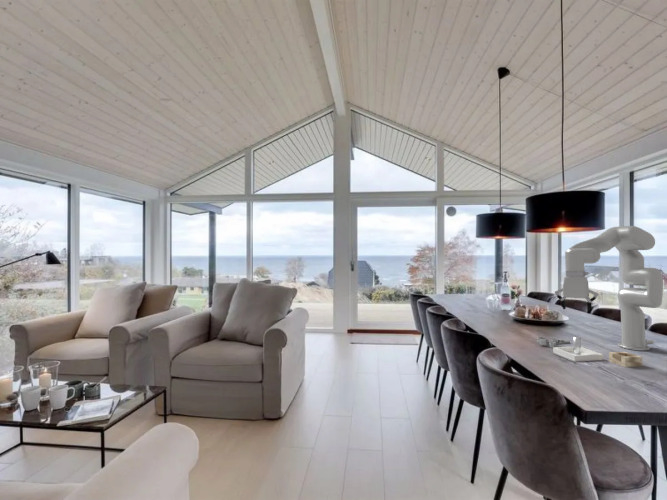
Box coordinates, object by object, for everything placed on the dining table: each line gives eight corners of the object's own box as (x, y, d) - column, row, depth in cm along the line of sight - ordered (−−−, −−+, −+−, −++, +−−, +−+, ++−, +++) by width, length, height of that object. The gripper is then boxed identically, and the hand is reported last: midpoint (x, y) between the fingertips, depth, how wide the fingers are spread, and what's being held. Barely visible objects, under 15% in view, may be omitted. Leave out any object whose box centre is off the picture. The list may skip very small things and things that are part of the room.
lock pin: (578, 355, 166) (577, 336, 167) (582, 356, 163) (582, 338, 164) (572, 355, 166) (571, 336, 166) (576, 357, 163) (576, 338, 163)
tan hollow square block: (625, 362, 157) (625, 351, 157) (642, 368, 149) (642, 356, 149) (609, 363, 156) (608, 352, 156) (625, 369, 148) (624, 357, 149)
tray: (579, 353, 172) (579, 346, 172) (603, 362, 158) (603, 354, 158) (553, 354, 171) (553, 347, 171) (574, 363, 157) (574, 355, 157)
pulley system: (533, 350, 182) (567, 353, 173) (532, 341, 183) (566, 344, 173) (540, 341, 204) (570, 343, 195) (539, 333, 204) (569, 335, 195)
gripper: (598, 274, 163) (599, 310, 162) (555, 273, 174) (556, 307, 174) (597, 275, 157) (598, 312, 157) (552, 274, 168) (553, 309, 168)
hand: (576, 309), depth 165 cm, fingers open, 9 cm apart
